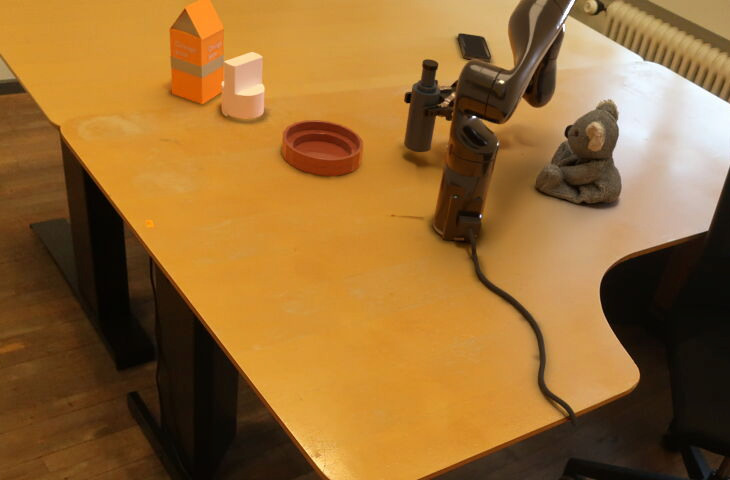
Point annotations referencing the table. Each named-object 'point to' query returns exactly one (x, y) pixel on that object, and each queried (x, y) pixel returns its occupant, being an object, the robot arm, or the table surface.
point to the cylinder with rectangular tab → (243, 86)
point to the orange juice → (197, 53)
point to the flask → (421, 96)
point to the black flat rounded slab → (474, 47)
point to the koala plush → (586, 159)
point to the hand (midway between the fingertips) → (414, 105)
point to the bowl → (322, 148)
